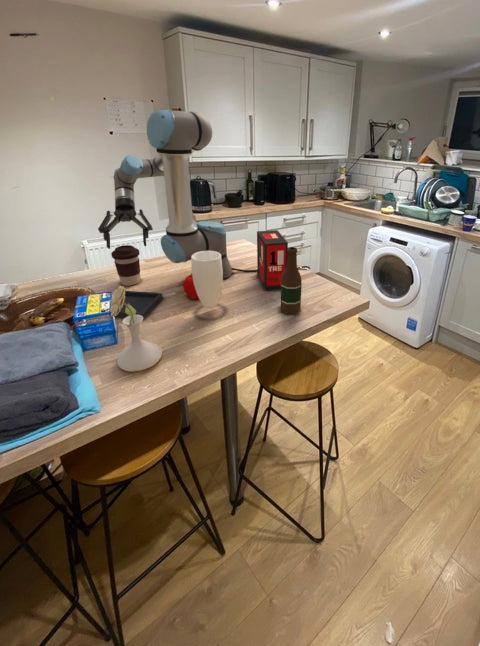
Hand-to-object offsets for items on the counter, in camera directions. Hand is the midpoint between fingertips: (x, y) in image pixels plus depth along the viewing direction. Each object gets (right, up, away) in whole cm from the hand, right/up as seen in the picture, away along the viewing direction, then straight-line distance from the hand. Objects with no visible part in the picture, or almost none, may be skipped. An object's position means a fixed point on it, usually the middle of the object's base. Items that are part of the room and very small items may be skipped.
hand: (127, 246), depth 138 cm
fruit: (+31, -20, -8) cm, 38 cm away
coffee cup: (+2, -15, 0) cm, 15 cm away
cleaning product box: (+59, -15, +6) cm, 61 cm away
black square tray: (+12, -23, -18) cm, 32 cm away
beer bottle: (+68, -25, -15) cm, 74 cm away
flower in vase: (+27, -36, -45) cm, 64 cm away
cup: (+40, -25, -19) cm, 50 cm away
